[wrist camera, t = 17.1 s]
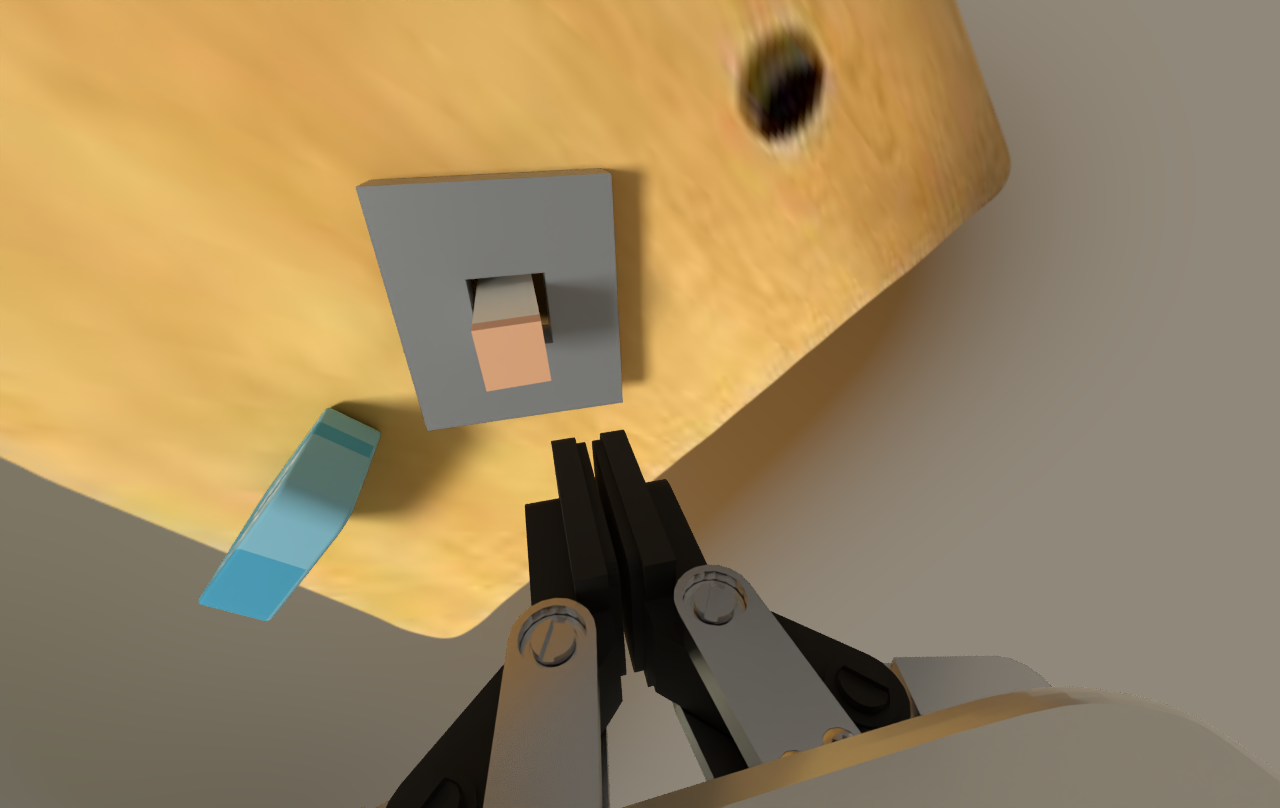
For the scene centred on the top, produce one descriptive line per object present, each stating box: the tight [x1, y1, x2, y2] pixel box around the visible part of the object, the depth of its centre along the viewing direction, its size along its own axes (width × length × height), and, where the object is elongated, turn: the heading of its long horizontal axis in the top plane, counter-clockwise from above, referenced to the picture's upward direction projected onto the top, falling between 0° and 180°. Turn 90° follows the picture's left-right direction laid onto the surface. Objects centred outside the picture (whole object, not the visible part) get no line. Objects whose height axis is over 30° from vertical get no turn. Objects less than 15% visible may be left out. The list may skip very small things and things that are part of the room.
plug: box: [471, 274, 551, 391], centre depth 35 cm, size 4×4×12 cm
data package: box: [199, 408, 381, 621], centre depth 38 cm, size 12×4×12 cm, turn 137°
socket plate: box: [356, 168, 623, 431], centre depth 38 cm, size 18×16×4 cm
